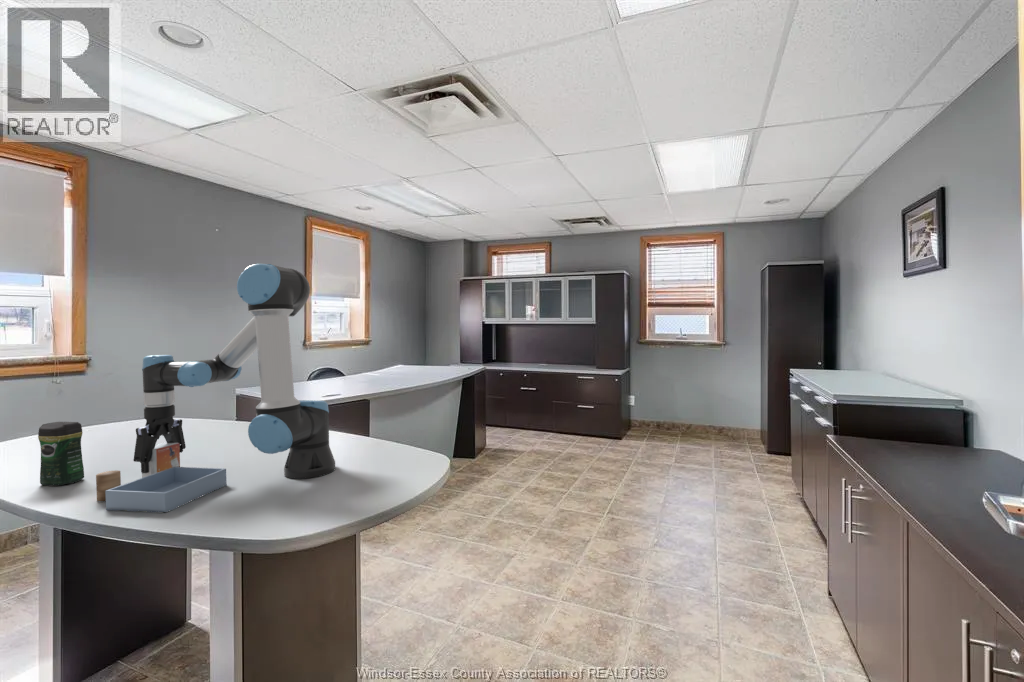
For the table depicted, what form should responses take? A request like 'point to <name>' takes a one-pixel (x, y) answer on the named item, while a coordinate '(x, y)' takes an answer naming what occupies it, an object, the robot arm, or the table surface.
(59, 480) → the coffee jar
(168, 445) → the small box
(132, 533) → the table surface
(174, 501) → the tray
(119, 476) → the tan wooden block
